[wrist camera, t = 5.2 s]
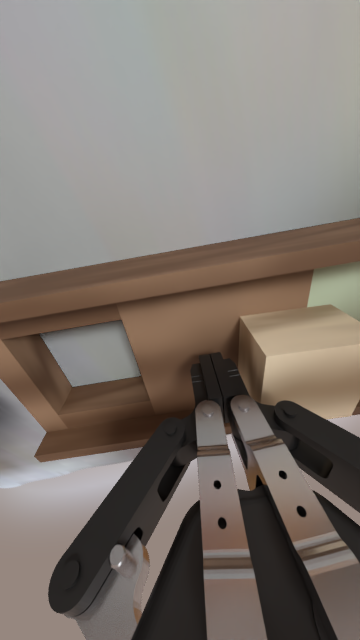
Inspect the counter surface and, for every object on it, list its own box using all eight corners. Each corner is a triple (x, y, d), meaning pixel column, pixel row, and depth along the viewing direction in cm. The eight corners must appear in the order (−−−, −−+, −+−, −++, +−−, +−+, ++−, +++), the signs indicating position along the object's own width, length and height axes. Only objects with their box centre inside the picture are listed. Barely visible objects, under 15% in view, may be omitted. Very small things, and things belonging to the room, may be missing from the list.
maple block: (239, 316, 13) (266, 356, 10) (330, 304, 13) (389, 339, 10) (237, 380, 16) (257, 428, 13) (311, 370, 16) (351, 416, 13)
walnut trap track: (-22, 285, 14) (-105, 321, 10) (599, 175, 13) (815, 161, 9) (66, 409, 21) (40, 462, 17) (473, 345, 20) (558, 384, 16)
